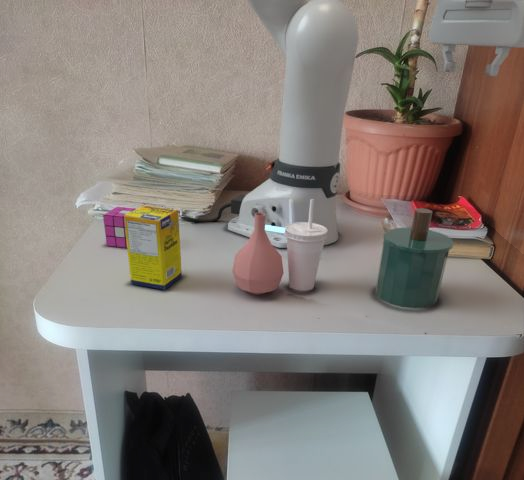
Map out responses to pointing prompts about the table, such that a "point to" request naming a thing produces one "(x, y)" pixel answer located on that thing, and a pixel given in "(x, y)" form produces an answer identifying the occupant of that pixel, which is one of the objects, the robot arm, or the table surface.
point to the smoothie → (304, 251)
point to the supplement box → (153, 246)
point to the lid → (419, 236)
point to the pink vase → (258, 262)
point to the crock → (410, 277)
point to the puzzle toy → (116, 226)
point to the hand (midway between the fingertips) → (469, 74)
